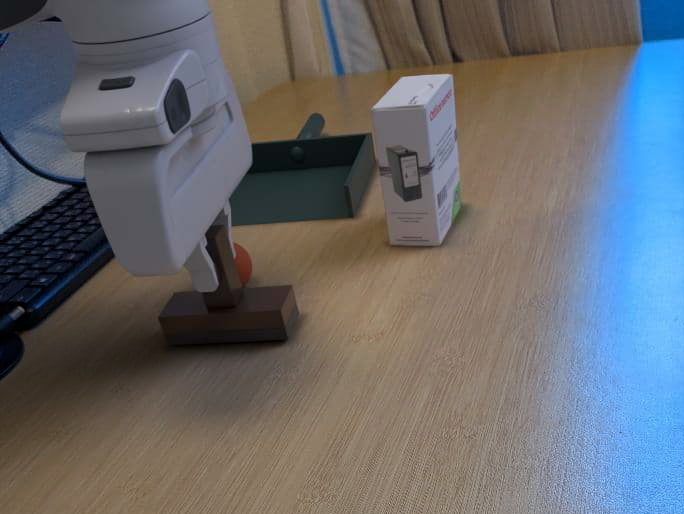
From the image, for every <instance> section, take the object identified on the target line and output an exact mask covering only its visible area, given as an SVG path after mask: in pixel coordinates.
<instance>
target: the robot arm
mask: <svg viewBox="0 0 684 514" xmlns="http://www.w3.org/2000/svg"><path fill="white" fill-rule="evenodd" d="M54 17H56V18H58V19H60V20H61V22H62V23H63V25H64V26H65V28H66V31H67V33H68V36H69V39H70V43H71V45H72V48H73V50H74V53H75V57H76V59H77V62H76V63H75V64H74V66H73V74H72V80H71V84H70V87H69V91H68V94H67V96H66V99H65V102H64V104H63V106H62V108H61V111H60V114H59V121H58V122H59V127H60V131H61V134H62V137H63V139H64V141H65V143H66V146H67V147H68V149H69V150H70V151H71V152H73V153H85V155H84V159H83V173H84V179H85V182H86V187H87V191H88V193H89V195H90V198H91V202H92V204H93V206H94V209H95V212H96V214H97V217H98V219H99V222H100V224H101V227H102V229H103V231H104V234H105V236H106V239H107V241H108V243H109V245H110V248H111V250H112V252H113V255H114V256H115V259H116V261H117V262H118V263H119V265H120V267H122V268H123V269H124V270H125V271H126V272H127V273H129V274H130V275H131V276H133V277H138V278H144V277H145V278H147V277H162V276H172V275H177V274H178V273H180V271H181V270H182V269H183V268H185V269H186V271H188V273H189V276H190V279H191V283H192V285H193V289H195V291H198V292H213V291H215V290H216V289H217V287H218V285H219V284H220V282H221V280H222V276H221V273H220V269H219V265H218V262H217V260H211V258H210V256H209V254H208V252H207V250H206V249H205V247H206V245H207V240H206V237H205V233H206V231H207V230H208V229H209V227H210V226H213V225H224V226H225V229H226V233H227V236H228V240H229V243H230V247H231V250H232V254H233V257H234V259H235V257H236V253H235V249H234V246H233V242H234V241H233V239H232V236H233V235H232V234H233V233H232V226H231V208H230V204H229V201H228V199H229V198H230V196H231V195H232V193H233V192H234V190H235V189H236V187H237V186H238V184H239V183H240V181H241V180H242V178H243V177H244V176H245V174H246V173H247V171H248V170H249V168H250V167H251V165H252V146H251V143H252V140H251V137H250V134H249V130H248V127H247V123H246V120H245V116H244V113H243V110H242V107H241V103H240V100H239V97H238V94H237V91H236V87H235V85H234V82H233V80H232V77H231V76H230V73H228V72H227V70H226V67H225V66H226V65H225V62H224V58H223V54H222V51H221V47H220V43H219V39H218V35H217V31H216V26H215V22H214V18H213V14H212V10H211V7H210V3H209V0H0V35H1V34H9V33H13V32H16V31H19V30H22V29H24V28H27V27H29V26H32V25H33V24H35V23H38V22H40V21H45V20H48V19H50V18H54Z"/></svg>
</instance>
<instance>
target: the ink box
mask: <svg viewBox="0 0 684 514" xmlns="http://www.w3.org/2000/svg"><path fill="white" fill-rule="evenodd" d="M370 114H371V119H372V127H373V128H372V129H373V135H374V136H373V137H374V143H375V149H376V151H375V152H376V159H377V164H378V170H379V176H380V177H379V178H380V185H381V193H382V200H383V206H384V207H383V208H384V213H385V220H386V221H385V222H386V229H387V234H388V241H389V246H411V247H413V246H415V247H416V246H417V247H437V246H440V245H441V244H442V242H443V240H444V239H445V238H446V236H447V233H448V232H449V230H450V228H451V227H452V225H453V223H454V221H455V219H456V217H457V215H459V212H460V211H461V209H462V195H461V193H462V192H461V180H460V179H461V178H460V163H459V149H458V135H457V133H458V132H457V120H456V119H457V118H456V104H455V89H454V76H453V74H450V73H440V74H439V73H438V74H423V75H411V76H410V75H409V76H408V75H407V76H401V77H400V78H399V79H398V80H397V81H396V82H395V83H394V85H392V87H390V89H389V90H388V91H387V92H386V93H385V94H384V95H383V96H382V97H381V98H380V99H379V100H378V101H377V103H375V104H374V105H373V106H372V107H371V109H370Z"/></svg>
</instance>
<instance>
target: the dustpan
mask: <svg viewBox="0 0 684 514" xmlns="http://www.w3.org/2000/svg"><path fill="white" fill-rule="evenodd" d="M325 126H326V120H325V117H324V115H322V114H321V113H319V112H314V113H313V112H312V114H310V115H309V117H308V119H307V120H306V122H305V123H304V125H303V126H302V127H301V130H300V131H299V133H298V135H297V136H296V138H293V139H292V138H291V139H281V140H270V141H259V142H251V146H252V165H251V167H250V168H249V170H248V171H247V173H246V174H245V176H244V177H243V178H242V180H241V181H240V183H239V184H238V186H237V187H236V189H235V190H234V192H233V193H232V195H231V196H230V198H229V199H228V201H229V204H230V208H231V227H235V226H236V227H238V226H251V225H253V226H254V225H267V224H283V223H294V222H295V223H296V222H309V221H310V222H311V221H325V220H339V219H353V218H355V216H356V214H357V210H358V208H359V206H360V203H361V201H362V198H363V196H364V193H365V191H366V188H367V187H368V183H369V181H370V179H371V176H372V173H373V171H374V168H375V166H376V162H377V158H376V151H375V145H374V138H373V137H374V136H373V132H362V133H361V132H359V133H349V134H338V135H327V136H321V133H322V132H323V130H324V128H325Z"/></svg>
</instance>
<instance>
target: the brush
mask: <svg viewBox="0 0 684 514" xmlns="http://www.w3.org/2000/svg"><path fill="white" fill-rule="evenodd" d="M205 237H206V240H207V245H206V247H205V249H206V250H207V252H208V254H209V256H210V258H211V260H217V262H218V265H219V269H220V273H221V276H222V280H221V282H220V284H219V285H218V287H217V289H216V290H215V291H213V292H198V291H196V290H191V291H176V292H175V291H174V292H173V293H172V295H171V296H170V298H169V299H168V301H167V302H166V303H165V305H164V306H163V308H162V309H161V312H160V313H159V314H158V316H157V320H158V322H159V326H160V328H161V331H162V332H163V336H164V339H165V341H166V344H167V346H179V345H180V346H183V345H201V344H220V343H239V342H240V343H241V342H261V341H279V340H289V339H290V336H291V334H292V331H293V329H294V327H295V324H296V322H297V320H298V317H299V315H300V311H299V306H298V303H297V297H296V294H295V291H294V285H293V284H287V285H286V284H285V285H270V286H269V285H268V286H254V287H242V285H241V282H240V278H239V275H238V271H237V268H236V264H235V261H234V257H233V254H232V250H231V247H230V243H229V240H228V236H227V233H226V229H225V226H224V225H213V226H210V227H209V229H208V230H207V231H206V233H205Z"/></svg>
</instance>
